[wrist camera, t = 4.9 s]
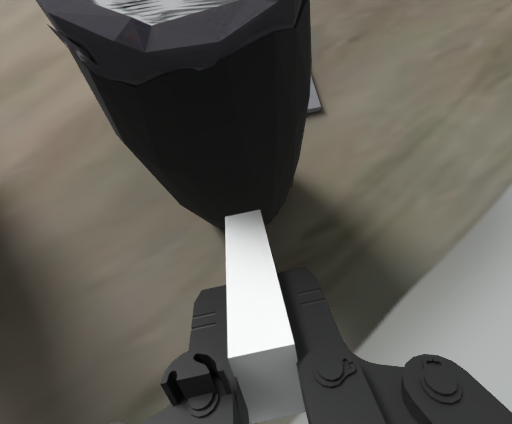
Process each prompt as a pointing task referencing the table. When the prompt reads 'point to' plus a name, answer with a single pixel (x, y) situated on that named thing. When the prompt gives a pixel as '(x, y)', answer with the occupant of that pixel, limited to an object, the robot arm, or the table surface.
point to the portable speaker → (200, 92)
